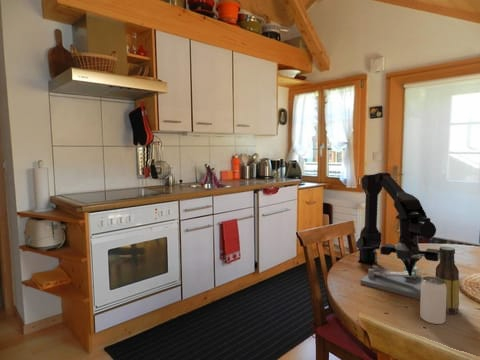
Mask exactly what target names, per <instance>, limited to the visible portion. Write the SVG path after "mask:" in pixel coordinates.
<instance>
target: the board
mask: <svg viewBox="0 0 480 360" xmlns="http://www.w3.org/2000/svg"><path fill="white" fill-rule="evenodd" d="M374 271H383V272H396V271H395V270H390V269H387V268H386V269H385V268H382V267H379V266H377V265H375V264H373V265H372V268H368V269H367V275H365V276H363V277H362V278H361V279H360V285H364V286H368V287H371V288H375V289H379V290H381V291H386V292H390V293H395V294H399V295H402V296H405V297H406V296H407V297H410V298H413V299H417V300H420V301H421V282H422V281H423V278H424V277H422V274H420V273H418V276H417V278H416V279H414V278H410V277H396V276H374Z"/></svg>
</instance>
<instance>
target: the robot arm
mask: <svg viewBox="0 0 480 360" xmlns="http://www.w3.org/2000/svg"><path fill="white" fill-rule="evenodd" d="M360 182H361V189H362V190H363V192H364V194H365V206H364V208H365V212H364V227H363V228H362V229H361V231H360V233H359V234H360V236H359V238H358V239H357V241H356V242H355V246H356V248H357V249H359V253H358V254H359V259H358V260H357V262H358V263H362V264H367V265H371V266H373V265H375V263H377V262H378V252H377V250H379V251H380V255H386V256H390V255H391V254H392V253H395V254H396V258H397V259H400V260H401V261H402V263H403V265H404V267H406V269H407V271H408V274H409V276H411V275H412V272H413V269H414V267H415V266H416V263H417V262H419V261H420V260H422V258H423V257H424V259H425V260H426V261H430V262H431V261H432V262H438V261H440V252H439V249H437V248H426V250H420V247H419V237H420V238H423V239H426V240H429V239H433V238H434V237H435V235H436V232H437V227H436V225H435V224H434V223H433V222H432V221H431V217H428V216H427V213H426V211H425V209H424V208H423V206H422V203H421V201H420V200H419V199H418V198H417V197H416V196H414V195H413V194H410V193H408V192H406V191H405V190H404V189H403V188H402V187H401V186H400V185H399V183H398V182H397V181H396V180H395V179H394V178H393V177H392V174H391V173H390V172H376V173H375V174H373V173H372V174H364V175H363V176H362V178H361V181H360ZM383 189H384V191H385V192H386V193H387V194H388V195H389V196H390V198H391V199H392V200H393V206H394V208H395V210H396V212H397V213H398V215H397V216H395V219H397V220H399V223H398V224H399V238H398V242H397V244H391V243H390V244H389V243H385V244H383V245H382V246H381V243H382V233H381V232H380V231H379V229H378V206H379V205H378V203H379V202H378V201H379V194H380V193H381V191H382V190H383Z"/></svg>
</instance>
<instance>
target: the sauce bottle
mask: <svg viewBox="0 0 480 360" xmlns="http://www.w3.org/2000/svg"><path fill="white" fill-rule="evenodd" d="M438 250H439V252H440V259H439V263H438V264H437V266H436V267H435V276H434V277H437V278H440V279H442V280H444V281H445V285H446V287H447V294H446V315H447V314H448V315H456V314H457V313H458V312H459V306H460V275H459V274H460V273H459V272H460V271H459V269H458V267H457V266H456V264H455V262H456V261H455V254H456V249H455V248H454V247H452V246H447V245H446V246H445V245H443V246H440V247H439V249H438Z"/></svg>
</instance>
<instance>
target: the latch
mask: <svg viewBox="0 0 480 360" xmlns="http://www.w3.org/2000/svg"><path fill="white" fill-rule="evenodd" d="M402 272H408V271H407V269H406V267H405V266H404V267H403V270H402ZM418 275H419V266H416V265H415V267H414V269H413V272H412V275H411V276H409V277H410V278H414V279H416V278H417V276H418Z"/></svg>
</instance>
